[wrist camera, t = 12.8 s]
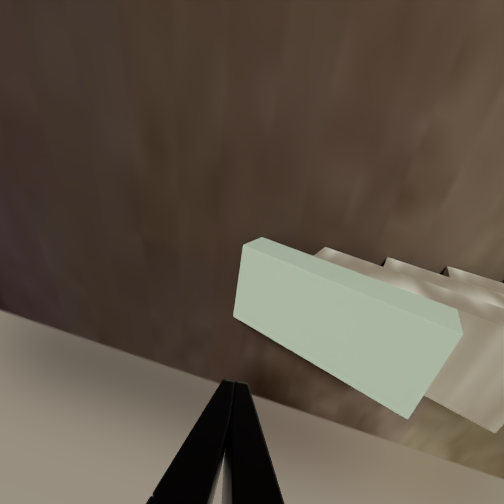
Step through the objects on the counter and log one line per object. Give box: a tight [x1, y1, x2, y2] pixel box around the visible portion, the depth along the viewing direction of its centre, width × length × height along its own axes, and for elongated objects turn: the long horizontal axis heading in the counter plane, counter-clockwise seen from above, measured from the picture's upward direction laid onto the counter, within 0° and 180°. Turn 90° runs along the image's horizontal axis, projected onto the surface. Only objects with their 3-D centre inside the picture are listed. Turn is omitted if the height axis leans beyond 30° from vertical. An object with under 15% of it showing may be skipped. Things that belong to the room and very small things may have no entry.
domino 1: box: [233, 237, 463, 419], centre depth 13 cm, size 2×5×10 cm
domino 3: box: [314, 247, 504, 433], centre depth 13 cm, size 2×5×10 cm
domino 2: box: [384, 257, 504, 308], centre depth 13 cm, size 2×5×10 cm
